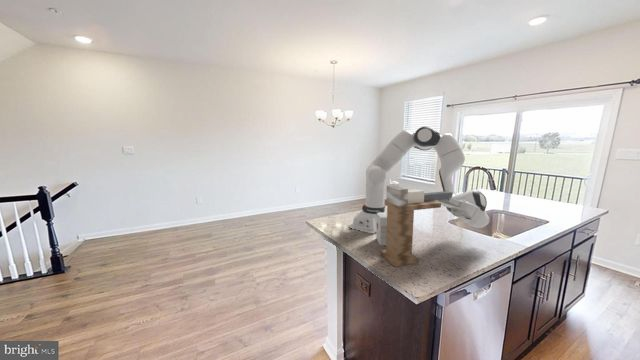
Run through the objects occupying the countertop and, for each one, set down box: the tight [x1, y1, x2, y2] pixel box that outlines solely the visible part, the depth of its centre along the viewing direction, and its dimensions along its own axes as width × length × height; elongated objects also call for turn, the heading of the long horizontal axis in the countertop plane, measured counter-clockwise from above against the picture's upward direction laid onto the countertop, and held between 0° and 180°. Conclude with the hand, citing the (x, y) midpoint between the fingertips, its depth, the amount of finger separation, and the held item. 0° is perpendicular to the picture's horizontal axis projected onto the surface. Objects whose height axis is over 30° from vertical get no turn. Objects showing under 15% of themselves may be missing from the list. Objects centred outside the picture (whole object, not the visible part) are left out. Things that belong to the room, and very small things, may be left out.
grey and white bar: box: [408, 188, 452, 204], centre depth 109 cm, size 24×5×5 cm, turn 105°
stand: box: [379, 184, 442, 268], centre depth 109 cm, size 22×12×33 cm, turn 105°
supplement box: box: [376, 212, 387, 246], centre depth 127 cm, size 9×9×15 cm
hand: (441, 196), depth 112 cm, fingers open, 8 cm apart
